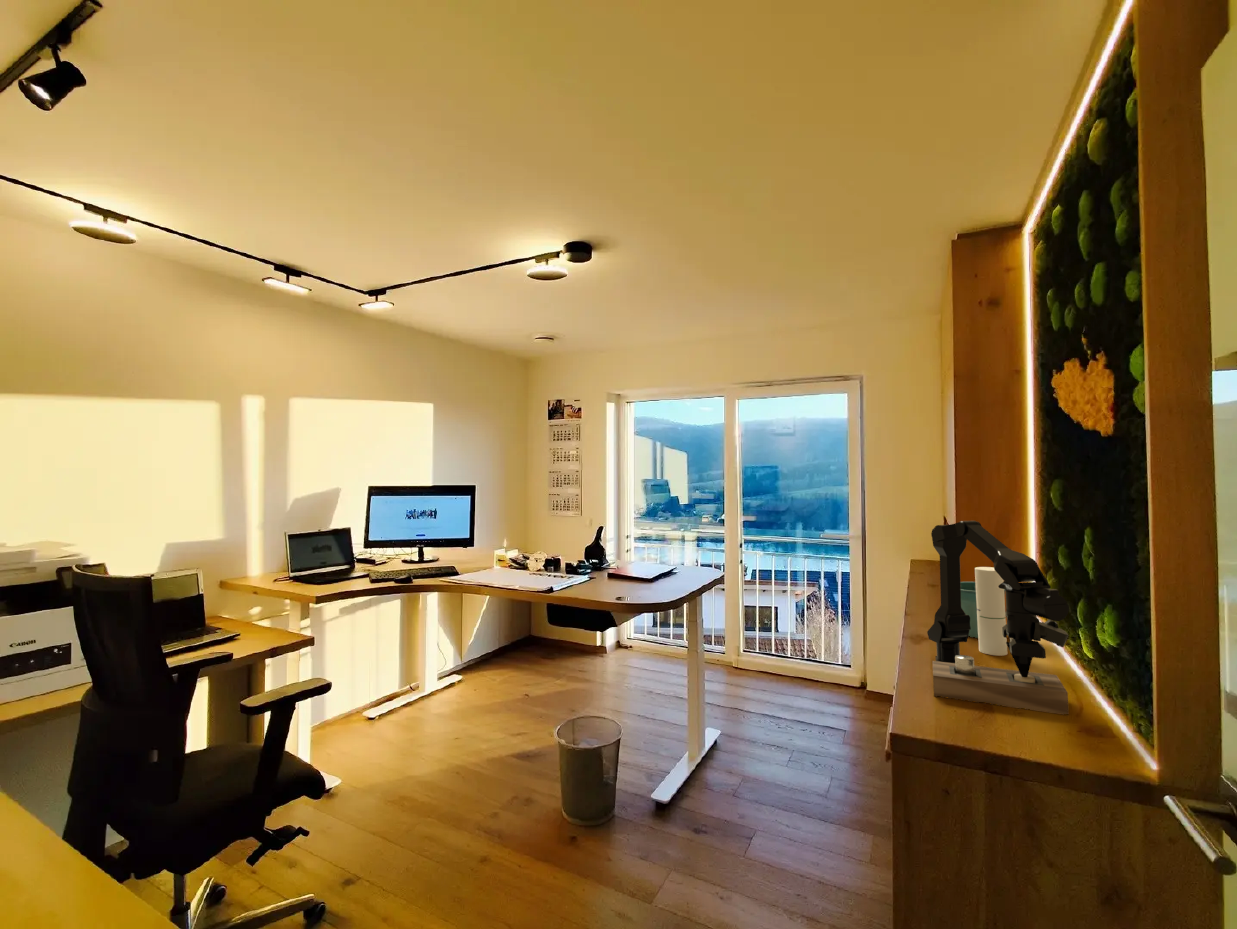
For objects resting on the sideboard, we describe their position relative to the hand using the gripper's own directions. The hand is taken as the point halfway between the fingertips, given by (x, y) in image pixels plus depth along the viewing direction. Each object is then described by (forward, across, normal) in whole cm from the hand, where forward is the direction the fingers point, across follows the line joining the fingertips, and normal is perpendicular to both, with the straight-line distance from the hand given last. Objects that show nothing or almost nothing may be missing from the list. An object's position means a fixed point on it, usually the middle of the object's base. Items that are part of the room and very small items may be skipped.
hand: (1024, 676), depth 131 cm
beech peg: (+5, 0, 0) cm, 5 cm away
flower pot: (+6, +59, +5) cm, 59 cm away
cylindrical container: (+6, +39, +3) cm, 40 cm away
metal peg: (+2, 0, +12) cm, 12 cm away
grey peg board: (+6, 0, +6) cm, 8 cm away
